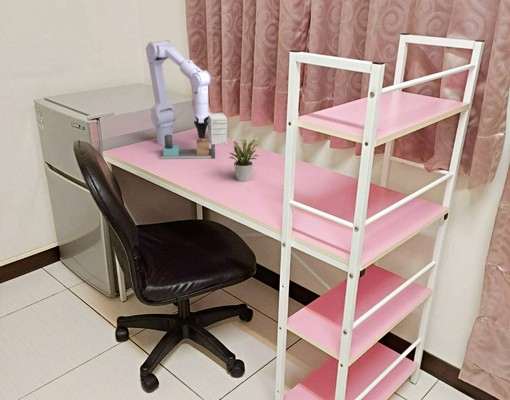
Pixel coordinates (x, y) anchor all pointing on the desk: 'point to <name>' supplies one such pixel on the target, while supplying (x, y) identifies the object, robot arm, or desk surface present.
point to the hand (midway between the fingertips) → (202, 135)
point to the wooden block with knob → (202, 147)
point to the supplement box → (217, 129)
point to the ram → (170, 147)
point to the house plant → (244, 160)
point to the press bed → (191, 154)
